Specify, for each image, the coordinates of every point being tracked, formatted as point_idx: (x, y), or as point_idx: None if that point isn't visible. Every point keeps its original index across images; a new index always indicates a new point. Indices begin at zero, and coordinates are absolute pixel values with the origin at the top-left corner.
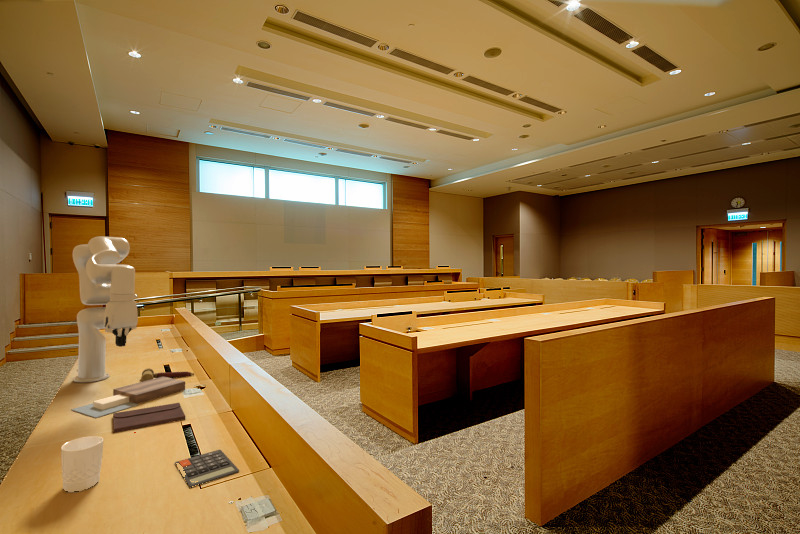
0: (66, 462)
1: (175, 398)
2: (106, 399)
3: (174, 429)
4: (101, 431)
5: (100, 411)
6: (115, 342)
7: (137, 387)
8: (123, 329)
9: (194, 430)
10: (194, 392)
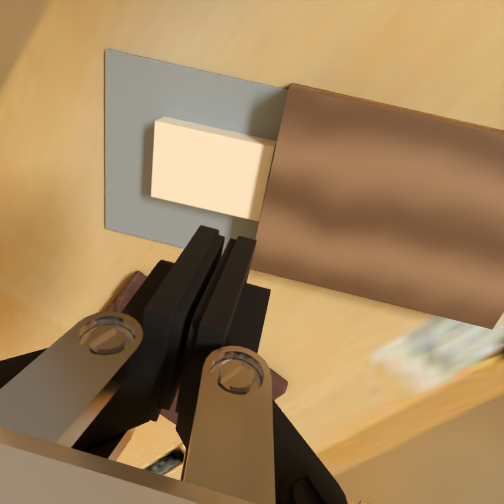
0: None
1: (355, 332)
2: (195, 157)
3: (153, 443)
4: (63, 318)
5: (145, 195)
6: (156, 265)
7: (348, 188)
8: (216, 470)
9: (167, 475)
10: (441, 353)
